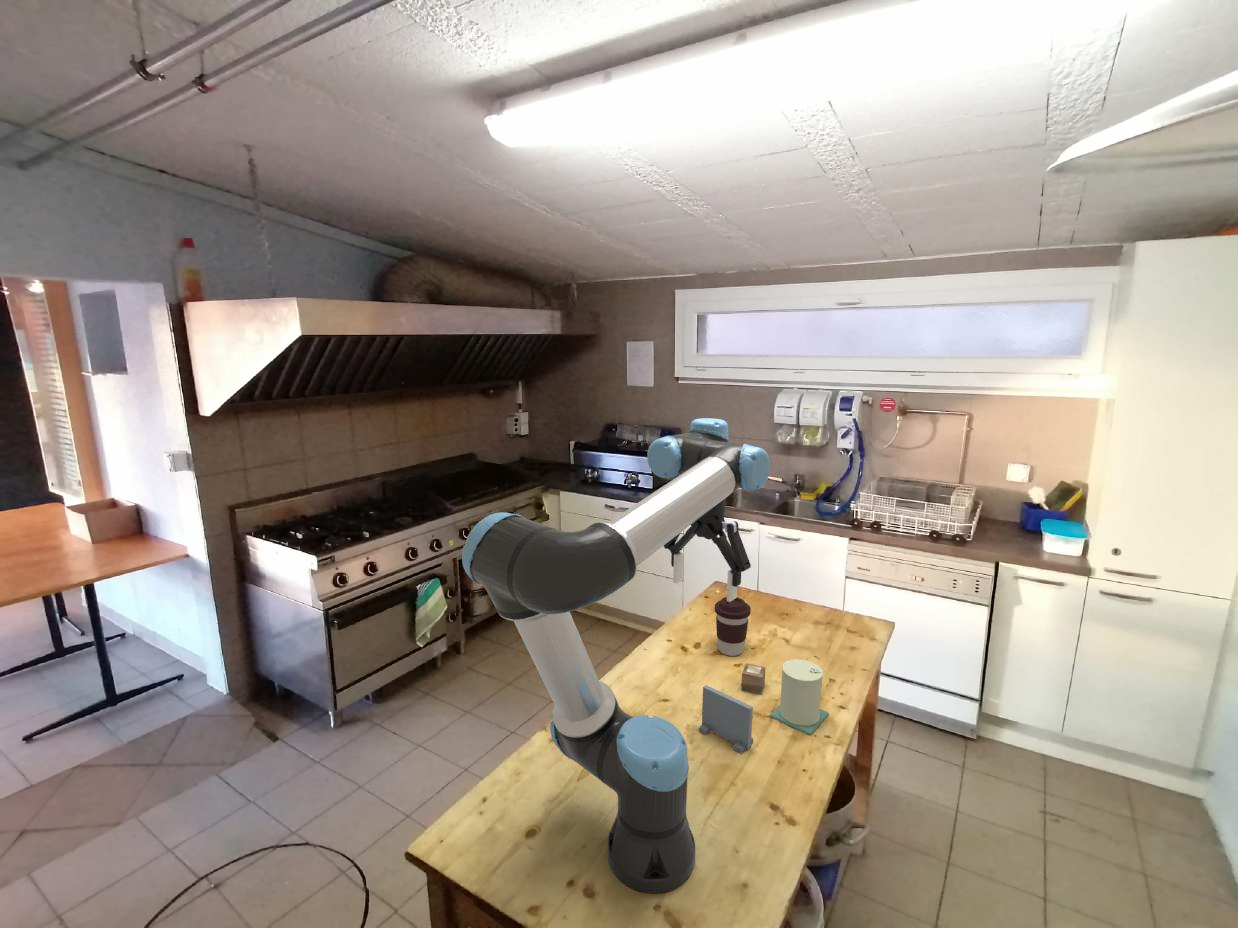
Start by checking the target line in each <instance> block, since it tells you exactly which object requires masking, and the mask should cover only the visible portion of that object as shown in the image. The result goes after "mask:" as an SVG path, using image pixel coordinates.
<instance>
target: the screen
mask: <svg viewBox="0 0 1238 928" xmlns="http://www.w3.org/2000/svg"><path fill="white" fill-rule="evenodd" d="M701 707H702V711H701V714H702V715H701V725H700V726H698V732H699V733H702V734H703V735H705V736H707V735H708V734H709V733H711V732H712V733H714V734H716V735H717V736H720V737H721V738H724V739H725V740H728V741H729V742H731V743H733V746H732V747H733V748H732V750H733V751H736V752H737V753H739V754H742V753H744V752H745V750H746V751H749V750H750V748H751V747H752V744H753V743H754V738H753V737H752V729H753V711H754V706H752V705H750V704H749V703H748V704H747V702H743V701H741V700H739V699H738V698H736V697H733V696H731V695H729V694H727V693H724V692H723V691H720V690H717V689H716V688H713V687H711V686H710V685H708V684H707V685H706V684H705V685H704V686H703V687H702V706H701Z"/></svg>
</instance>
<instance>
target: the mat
mask: <svg viewBox="0 0 1238 928" xmlns="http://www.w3.org/2000/svg"><path fill="white" fill-rule="evenodd" d="M779 707H780V705H778V707H776V708H775V709H774V710H773V711H772V712H771V713H770V714H769V718H771V719H773V720H775V721H778V722H779V723H782V724H785V725H787V726H788V727H791V728H793V729H795V730H797V731H800V732H801V733H803V734H806V735H808V736H810V737H811V736H812V735H813V733H814V732H816V730H817V729H818V728H819V727H820V725H821V724H822V723H823V722H824V721H825V720H826V719H827V718H828V716H830V713H829V712H828V711H827V710H826V711H825V710H824V709H822V708H820V719H819V721H818V722H817V723H816V724H814V725H810V726H800V725H795V724H792V723H790V722H788V721H787V720H785V719H784V718H783V717H782V716H781V714H780V712H779Z"/></svg>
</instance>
